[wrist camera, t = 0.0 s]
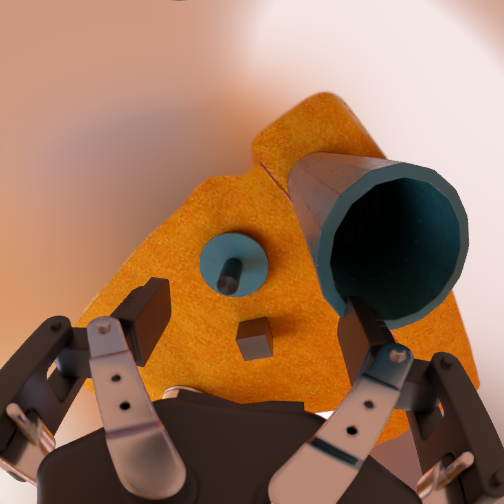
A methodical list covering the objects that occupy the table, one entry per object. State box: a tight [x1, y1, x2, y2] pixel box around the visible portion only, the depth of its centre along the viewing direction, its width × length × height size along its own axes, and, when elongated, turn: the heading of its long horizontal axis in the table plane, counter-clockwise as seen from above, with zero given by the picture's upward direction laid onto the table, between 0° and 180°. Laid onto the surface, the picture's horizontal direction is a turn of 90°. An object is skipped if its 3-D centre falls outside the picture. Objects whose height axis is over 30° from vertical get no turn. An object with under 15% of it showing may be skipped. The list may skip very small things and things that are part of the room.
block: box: [236, 317, 273, 361], centre depth 37 cm, size 4×4×4 cm
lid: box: [199, 232, 268, 297], centre depth 33 cm, size 9×9×6 cm
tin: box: [288, 152, 469, 330], centre depth 21 cm, size 8×8×22 cm
